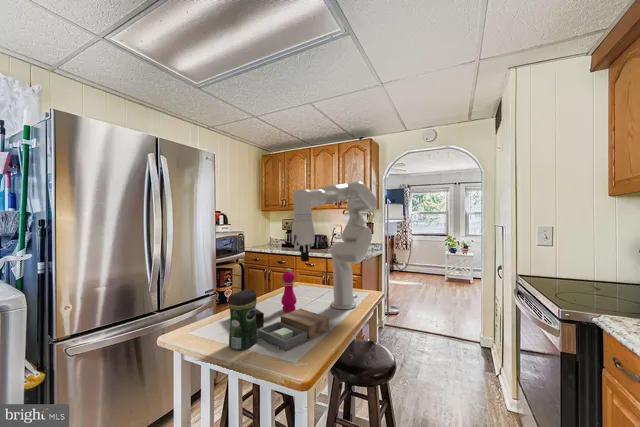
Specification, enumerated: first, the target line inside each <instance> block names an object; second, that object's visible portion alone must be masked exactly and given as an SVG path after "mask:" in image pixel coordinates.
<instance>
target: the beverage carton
mask: <svg viewBox="0 0 640 427" xmlns="http://www.w3.org/2000/svg"><path fill="white" fill-rule="evenodd" d="M264 315H265V313H264V312H262V311H260V310H259V309H258V308H256V325H257V329H260V328H262V327H265V326H264V323H265V320H264V319H265V316H264Z"/></svg>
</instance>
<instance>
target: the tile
mask: <svg viewBox="0 0 640 427" xmlns="http://www.w3.org/2000/svg"><path fill="white" fill-rule="evenodd" d="M274 336H277V337H279V338H281V339H283V340H287V339H289V338H291V337H293V331H292V330H289V329H287V328H282V329H279V330H277V331H274Z"/></svg>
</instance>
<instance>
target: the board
mask: <svg viewBox="0 0 640 427" xmlns="http://www.w3.org/2000/svg"><path fill="white" fill-rule="evenodd" d="M280 322H281V323H284V324H287V325H289V326H292V327H294V328H297V329H300V330H302V331H305V332H307V341H310V340H312V339H314V338H316V337H318V336H320V335H322V334H324V333H326V332H328V331H330V317H328V316H326V315H322V314H319V313H316V312H312V311H309V310H306V309H303V308H299V309H296V310H295V311H293V312H286V313H285V314H282V315H280Z"/></svg>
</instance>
